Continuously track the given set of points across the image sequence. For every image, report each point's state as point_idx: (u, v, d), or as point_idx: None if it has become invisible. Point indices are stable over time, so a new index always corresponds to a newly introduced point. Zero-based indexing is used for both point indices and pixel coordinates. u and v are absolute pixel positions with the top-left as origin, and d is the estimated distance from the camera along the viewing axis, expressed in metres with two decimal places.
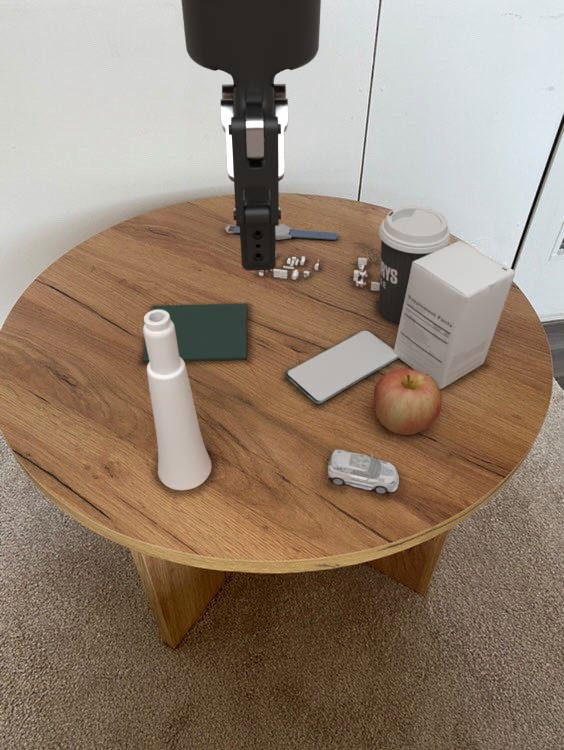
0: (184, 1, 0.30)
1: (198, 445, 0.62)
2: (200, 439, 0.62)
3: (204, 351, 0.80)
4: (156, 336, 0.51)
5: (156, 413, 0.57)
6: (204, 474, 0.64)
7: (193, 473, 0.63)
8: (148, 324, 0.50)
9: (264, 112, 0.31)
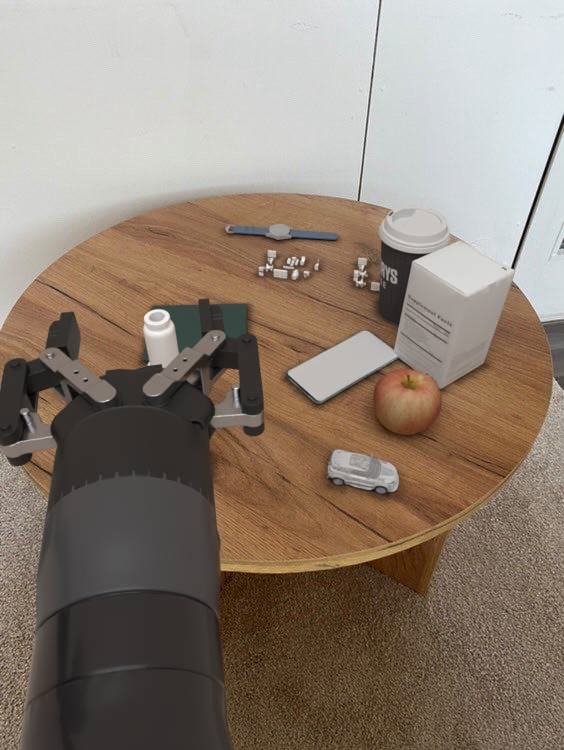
0: (85, 459, 0.25)
1: None
2: None
3: None
4: (156, 336, 0.51)
5: None
6: None
7: None
8: (148, 324, 0.50)
9: (56, 445, 0.31)
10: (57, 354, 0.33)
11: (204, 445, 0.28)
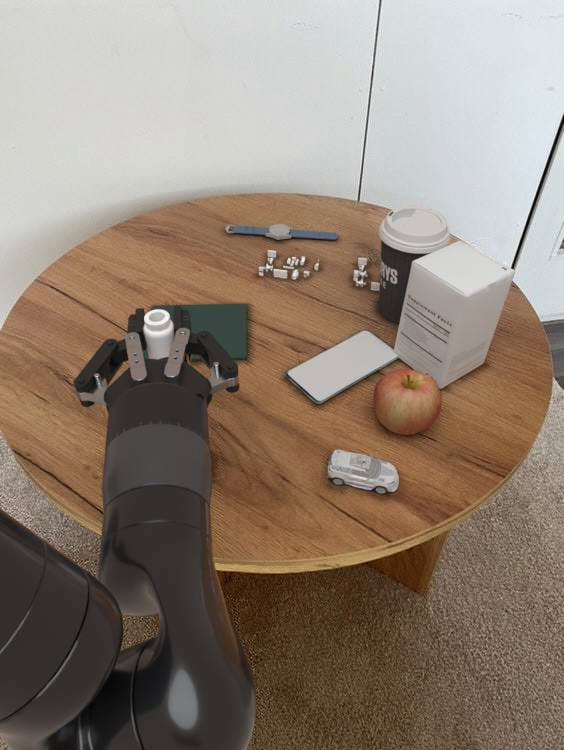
0: (130, 414, 0.41)
1: None
2: None
3: None
4: (156, 336, 0.51)
5: None
6: None
7: None
8: (148, 324, 0.50)
9: None
10: (137, 337, 0.50)
11: (203, 409, 0.44)
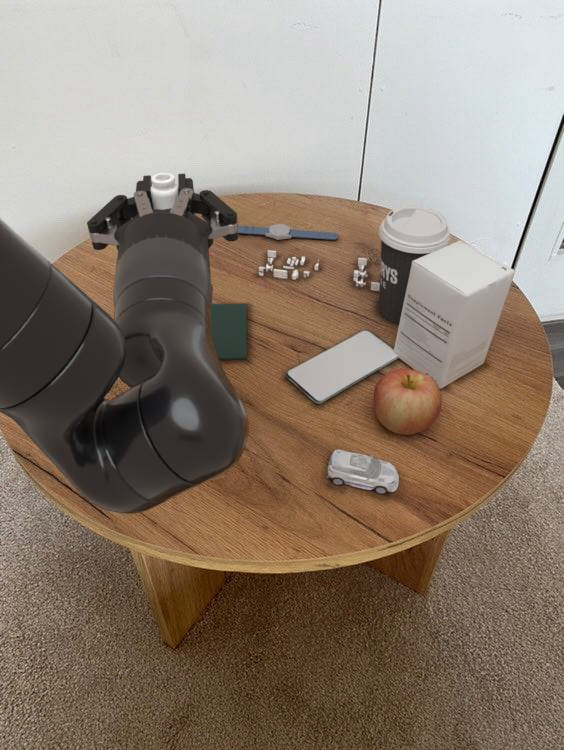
0: (139, 232, 0.45)
1: None
2: None
3: None
4: (162, 195, 0.55)
5: None
6: None
7: None
8: (155, 182, 0.55)
9: None
10: (144, 194, 0.55)
11: (205, 241, 0.48)
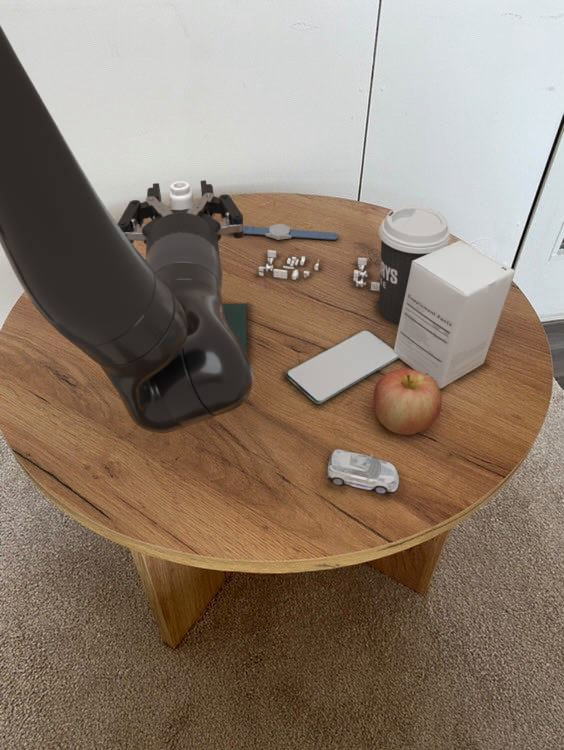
0: (164, 228, 0.57)
1: None
2: None
3: None
4: (179, 199, 0.67)
5: None
6: None
7: None
8: (173, 189, 0.67)
9: None
10: (154, 199, 0.66)
11: (215, 235, 0.61)
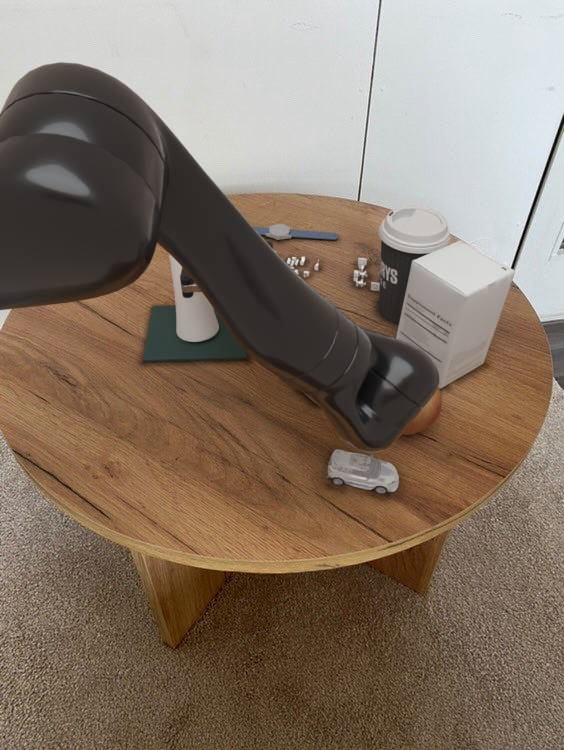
0: None
1: (207, 301, 0.78)
2: None
3: (204, 351, 0.80)
4: None
5: (173, 267, 0.74)
6: (212, 330, 0.81)
7: (204, 326, 0.79)
8: None
9: None
10: None
11: None
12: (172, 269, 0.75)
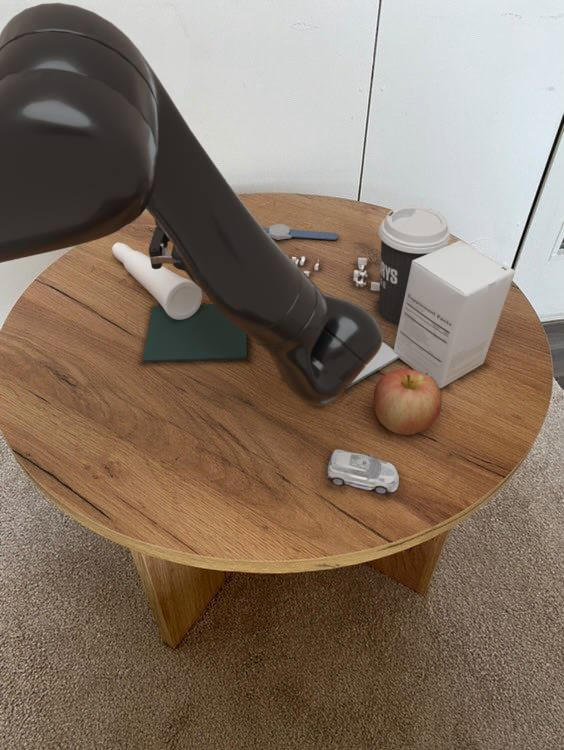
0: None
1: (171, 272, 0.85)
2: None
3: (204, 351, 0.80)
4: (115, 246, 0.95)
5: (136, 274, 0.89)
6: (184, 279, 0.82)
7: (173, 278, 0.82)
8: (112, 248, 0.96)
9: (175, 266, 0.68)
10: None
11: None
12: (138, 278, 0.88)
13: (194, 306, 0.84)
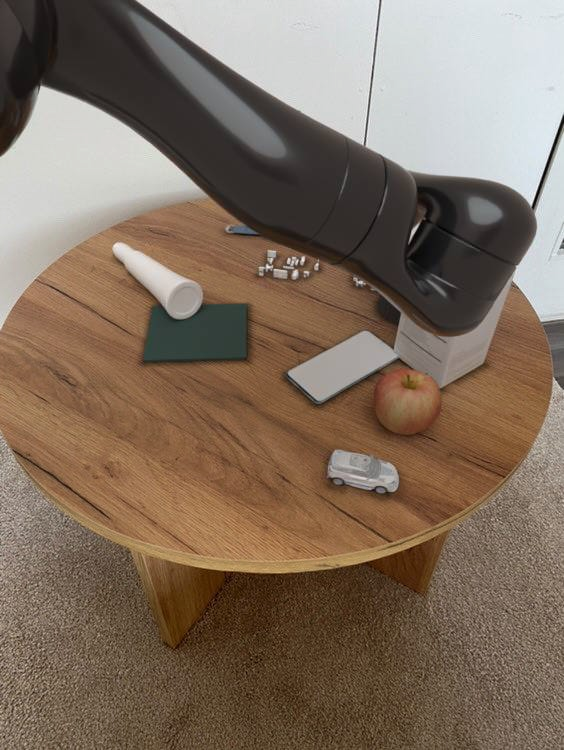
0: None
1: (172, 272, 0.86)
2: None
3: (204, 351, 0.80)
4: (116, 246, 0.95)
5: (136, 273, 0.89)
6: (186, 279, 0.82)
7: (175, 278, 0.83)
8: (112, 248, 0.96)
9: None
10: None
11: None
12: (138, 277, 0.88)
13: (195, 306, 0.84)
